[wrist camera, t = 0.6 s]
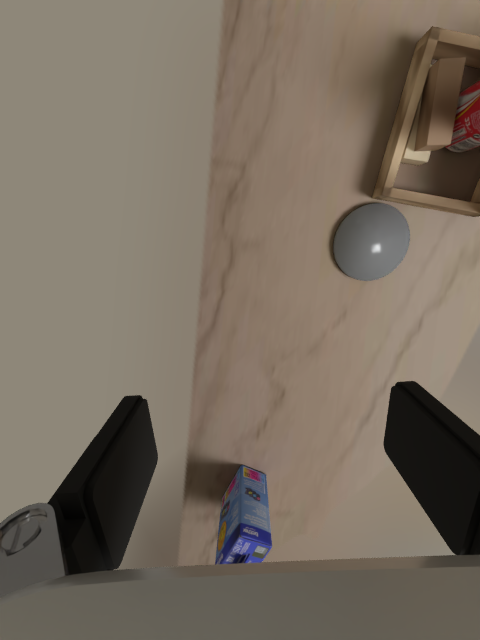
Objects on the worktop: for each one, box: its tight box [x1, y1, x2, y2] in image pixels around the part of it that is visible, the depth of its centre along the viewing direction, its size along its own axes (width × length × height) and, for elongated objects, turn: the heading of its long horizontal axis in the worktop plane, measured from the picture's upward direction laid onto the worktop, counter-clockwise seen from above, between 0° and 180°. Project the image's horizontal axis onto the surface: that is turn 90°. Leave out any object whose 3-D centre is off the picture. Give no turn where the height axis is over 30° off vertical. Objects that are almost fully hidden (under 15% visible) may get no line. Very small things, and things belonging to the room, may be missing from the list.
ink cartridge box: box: [215, 465, 272, 565], centre depth 42 cm, size 10×6×14 cm, turn 157°
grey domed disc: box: [333, 203, 410, 281], centre depth 36 cm, size 10×10×1 cm
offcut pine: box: [400, 64, 432, 166], centre depth 31 cm, size 9×3×2 cm, turn 172°
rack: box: [372, 26, 480, 217], centre depth 28 cm, size 16×14×9 cm
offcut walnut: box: [414, 57, 466, 152], centre depth 29 cm, size 8×3×2 cm, turn 2°
